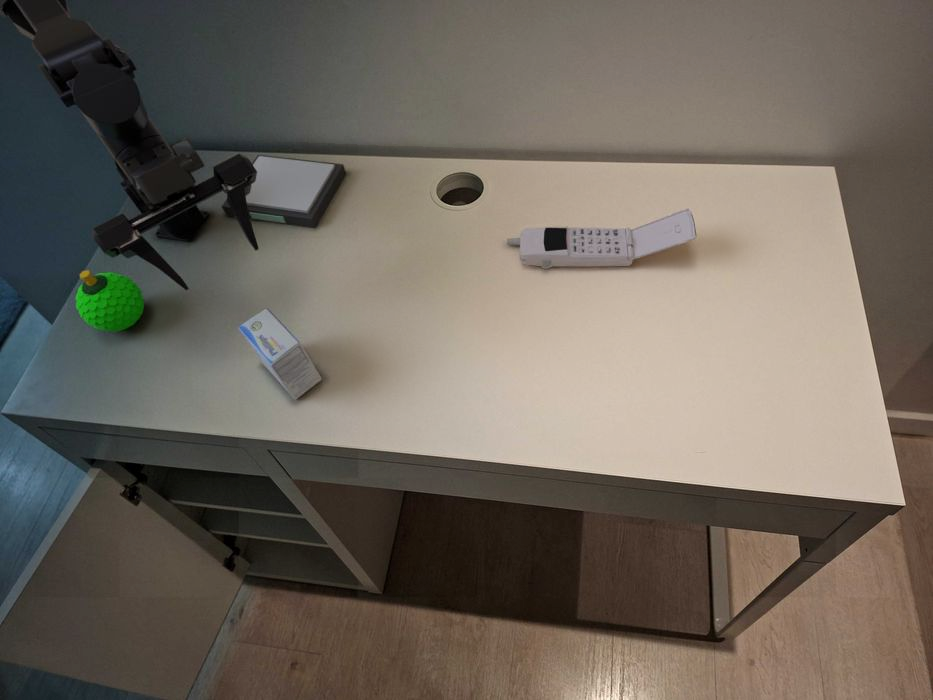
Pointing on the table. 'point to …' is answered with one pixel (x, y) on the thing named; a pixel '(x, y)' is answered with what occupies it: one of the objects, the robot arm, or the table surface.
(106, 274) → the ornament
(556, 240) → the mobile phone
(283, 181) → the kitchen scale
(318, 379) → the medicine box
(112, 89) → the robot arm
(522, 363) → the table surface
